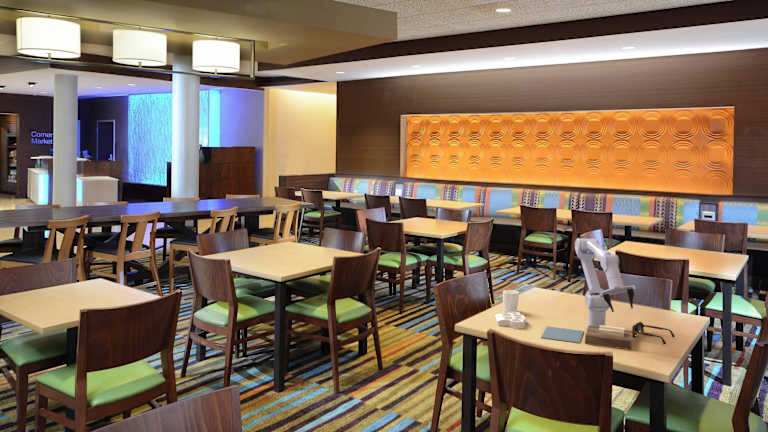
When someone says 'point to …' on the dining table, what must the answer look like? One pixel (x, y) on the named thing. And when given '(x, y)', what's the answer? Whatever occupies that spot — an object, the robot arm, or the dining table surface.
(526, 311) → the dining table surface
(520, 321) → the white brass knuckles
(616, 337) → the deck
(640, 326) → the sunglasses
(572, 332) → the mat
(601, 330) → the cream rectangular block
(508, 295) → the white cup
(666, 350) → the dining table surface
